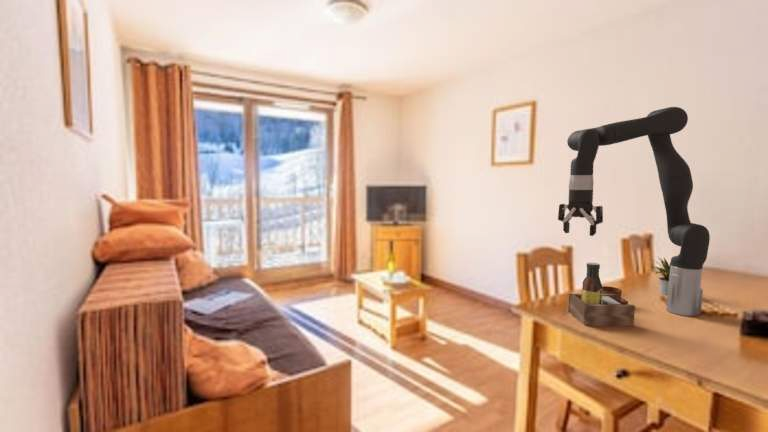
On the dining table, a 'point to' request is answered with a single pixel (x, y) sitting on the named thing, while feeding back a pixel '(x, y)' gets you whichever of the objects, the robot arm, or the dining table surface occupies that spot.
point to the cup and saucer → (617, 294)
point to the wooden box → (601, 312)
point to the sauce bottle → (592, 285)
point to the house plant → (664, 280)
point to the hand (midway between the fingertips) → (579, 234)
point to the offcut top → (609, 301)
